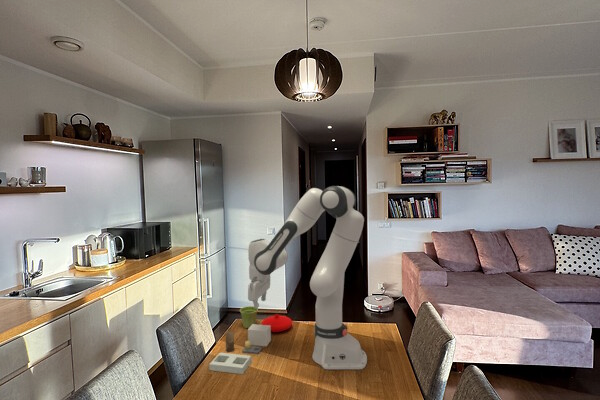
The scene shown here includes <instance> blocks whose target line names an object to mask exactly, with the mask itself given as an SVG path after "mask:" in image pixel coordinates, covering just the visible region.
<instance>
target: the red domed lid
mask: <svg viewBox="0 0 600 400" xmlns="http://www.w3.org/2000/svg"><path fill="white" fill-rule="evenodd" d="M260 325H270V326H271V333H272V332H273V333H279V332H283V331H286V330H289V329H290V328H291V327H292V326H293V320H292V319H291V318H290V317H288V316H285V315H280V314H278V313H275V314H274V315H272V316H268V317H266V318H264V319H263V320H262V321H261V324H260Z"/></svg>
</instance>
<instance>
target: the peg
mask: <svg viewBox="0 0 600 400" xmlns="http://www.w3.org/2000/svg"><path fill="white" fill-rule="evenodd" d="M234 332H235V331H234V330H232V329H229V330H226V331H225V351H226V352H227V353H231V352H234V351H235V333H234Z"/></svg>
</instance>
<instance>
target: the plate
mask: <svg viewBox="0 0 600 400" xmlns="http://www.w3.org/2000/svg"><path fill="white" fill-rule="evenodd" d="M262 349H263V346H254V345H251V343H250V341H248V340H245V341H244V348H243V349H242V350H241V351H242V353H243V354H252V355H255V354H256V355H259V354H260V353H261V351H262Z"/></svg>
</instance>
